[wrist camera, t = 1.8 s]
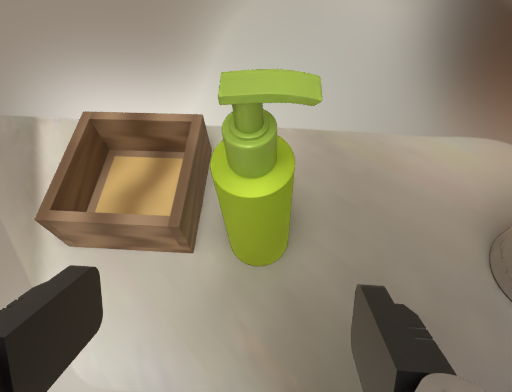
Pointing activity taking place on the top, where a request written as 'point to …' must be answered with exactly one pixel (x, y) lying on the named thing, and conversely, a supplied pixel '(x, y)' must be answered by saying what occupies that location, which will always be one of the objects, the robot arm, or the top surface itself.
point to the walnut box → (130, 182)
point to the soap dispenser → (258, 160)
